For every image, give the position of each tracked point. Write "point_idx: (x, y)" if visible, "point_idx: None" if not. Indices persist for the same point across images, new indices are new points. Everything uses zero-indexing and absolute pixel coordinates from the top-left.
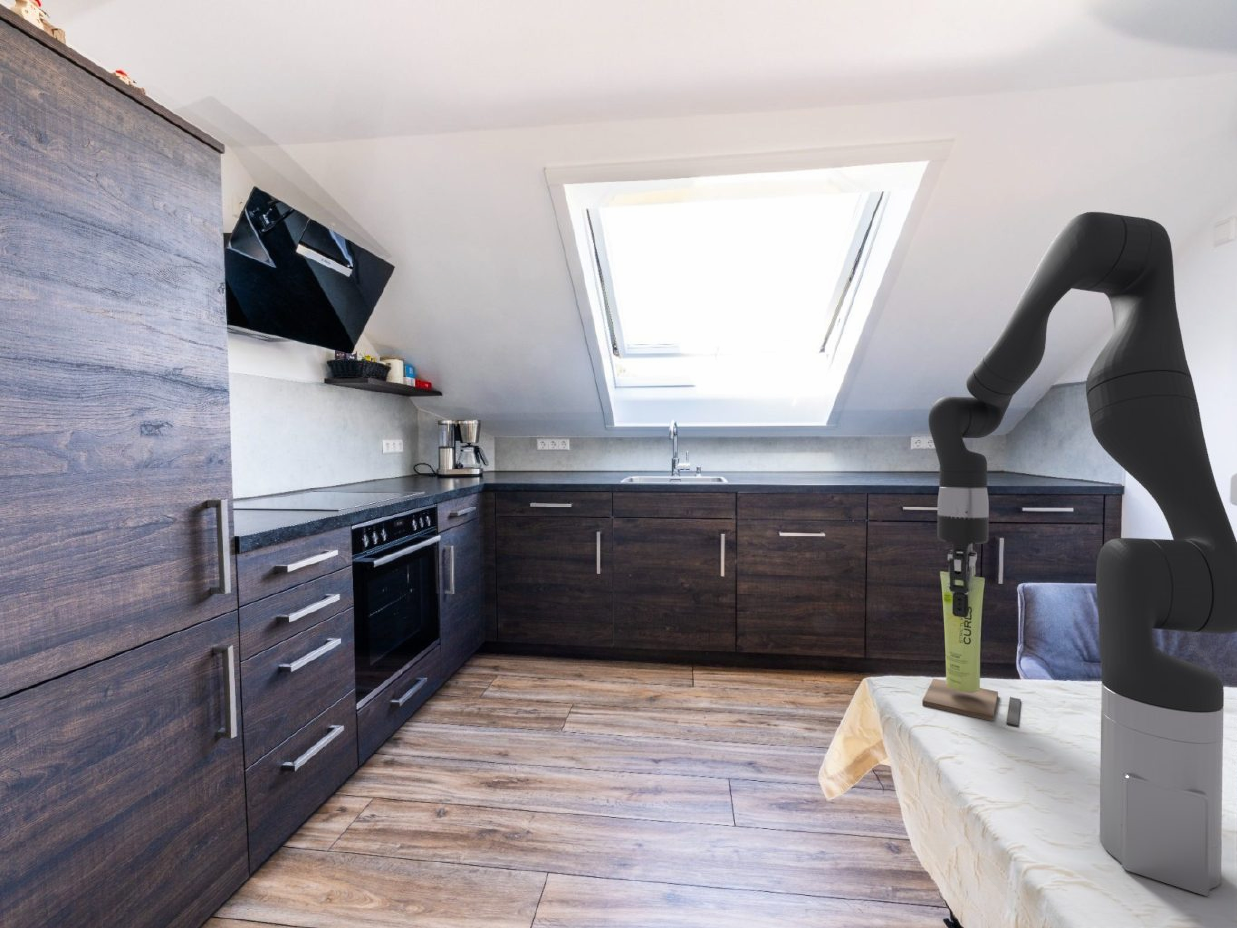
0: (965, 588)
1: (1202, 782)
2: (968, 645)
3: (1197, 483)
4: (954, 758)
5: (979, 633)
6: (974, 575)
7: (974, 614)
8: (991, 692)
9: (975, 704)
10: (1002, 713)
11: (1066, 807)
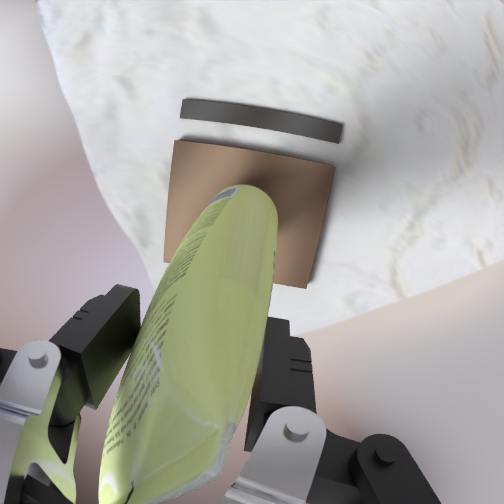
0: (413, 469)
1: None
2: (275, 252)
3: None
4: (482, 249)
5: (252, 229)
6: (23, 428)
7: (268, 292)
8: (187, 153)
9: (282, 192)
10: (278, 140)
11: None
